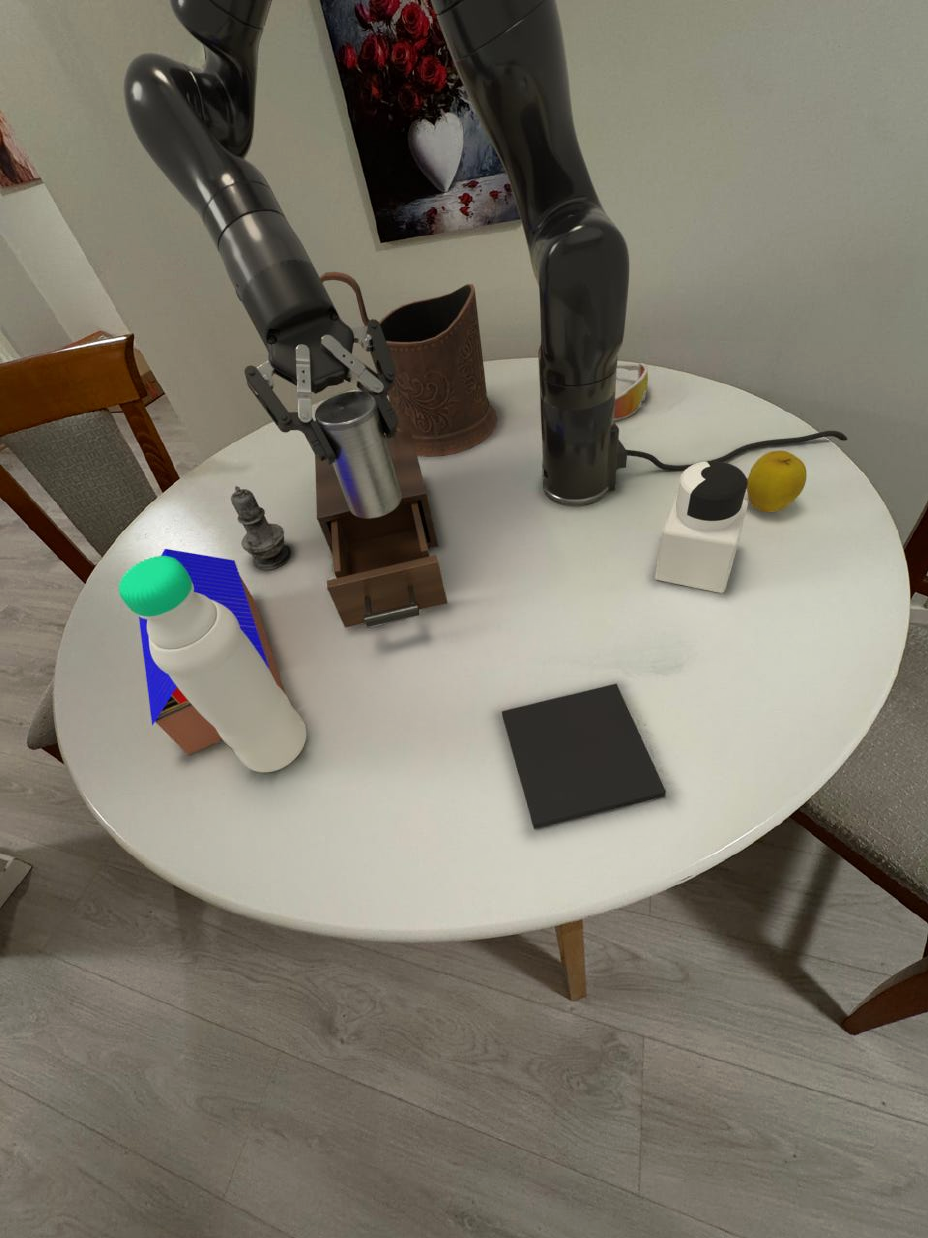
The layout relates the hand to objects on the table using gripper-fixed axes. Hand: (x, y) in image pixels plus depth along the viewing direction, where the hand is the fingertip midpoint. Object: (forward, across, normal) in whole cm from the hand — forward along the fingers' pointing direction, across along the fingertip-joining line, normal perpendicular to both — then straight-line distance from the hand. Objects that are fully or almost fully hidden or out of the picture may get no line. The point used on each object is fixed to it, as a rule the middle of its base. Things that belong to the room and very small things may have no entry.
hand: (362, 447), depth 56 cm
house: (+13, -23, +18) cm, 32 cm away
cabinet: (+4, +4, +27) cm, 28 cm away
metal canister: (+4, 0, +6) cm, 8 cm away
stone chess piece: (+1, -12, +30) cm, 32 cm away
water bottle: (+22, -21, +9) cm, 32 cm away
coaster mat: (+35, +4, -4) cm, 36 cm away
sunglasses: (+1, +47, +31) cm, 56 cm away
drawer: (+13, -1, +17) cm, 21 cm away
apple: (+26, +45, +6) cm, 52 cm away
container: (+27, +30, +4) cm, 41 cm away
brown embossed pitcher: (-9, +21, +40) cm, 46 cm away
